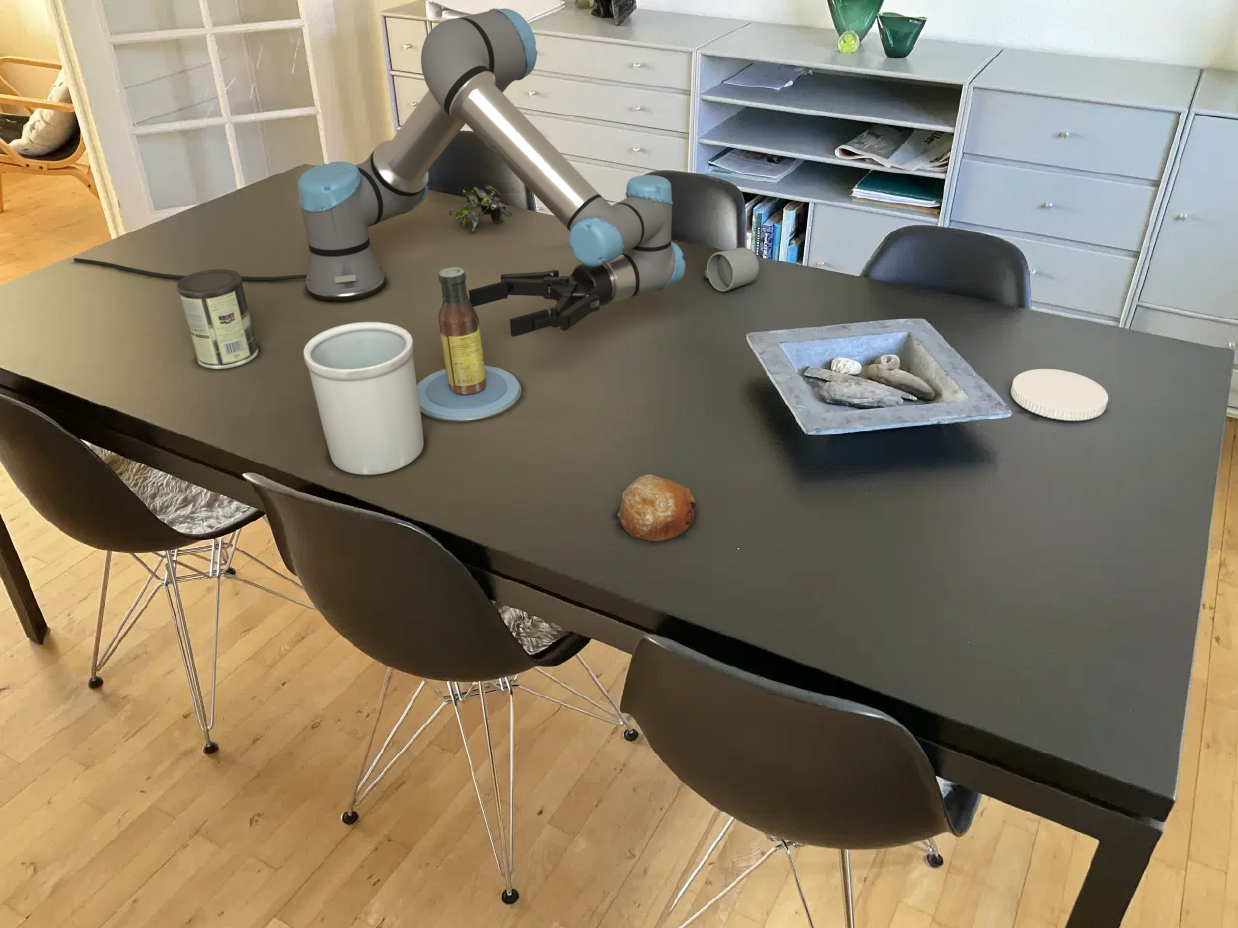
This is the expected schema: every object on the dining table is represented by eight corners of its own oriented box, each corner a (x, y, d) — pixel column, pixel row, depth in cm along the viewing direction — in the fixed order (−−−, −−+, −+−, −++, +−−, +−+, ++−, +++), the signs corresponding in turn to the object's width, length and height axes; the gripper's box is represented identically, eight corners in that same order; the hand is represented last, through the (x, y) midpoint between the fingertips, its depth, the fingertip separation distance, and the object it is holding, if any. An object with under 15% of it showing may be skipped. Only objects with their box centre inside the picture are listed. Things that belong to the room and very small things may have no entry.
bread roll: (629, 520, 137) (603, 478, 133) (696, 490, 136) (672, 447, 131) (636, 565, 129) (609, 522, 125) (707, 534, 127) (682, 489, 123)
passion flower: (496, 245, 231) (523, 207, 224) (468, 252, 222) (495, 213, 216) (465, 211, 232) (490, 172, 226) (436, 217, 223) (461, 176, 217)
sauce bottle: (494, 384, 161) (484, 269, 150) (470, 400, 156) (457, 283, 145) (463, 374, 164) (451, 260, 153) (438, 390, 159) (424, 274, 148)
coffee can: (226, 338, 179) (208, 265, 171) (271, 349, 175) (254, 274, 167) (183, 362, 171) (162, 286, 163) (229, 374, 167) (209, 296, 160)
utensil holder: (378, 489, 138) (359, 379, 128) (303, 459, 145) (280, 352, 135) (447, 441, 148) (434, 336, 139) (374, 416, 155) (357, 313, 145)
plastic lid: (1059, 435, 149) (1063, 420, 147) (990, 394, 159) (993, 381, 158) (1123, 412, 154) (1128, 398, 152) (1053, 375, 164) (1056, 361, 163)
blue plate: (390, 409, 157) (389, 402, 156) (449, 361, 170) (448, 355, 170) (487, 431, 151) (487, 424, 150) (540, 380, 164) (539, 373, 164)
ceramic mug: (761, 285, 196) (763, 248, 192) (732, 296, 192) (733, 259, 188) (723, 271, 203) (724, 235, 199) (694, 281, 199) (695, 244, 195)
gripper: (645, 328, 160) (531, 364, 150) (564, 279, 177) (457, 308, 167) (645, 285, 155) (528, 318, 145) (562, 239, 173) (452, 266, 163)
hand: (490, 313), depth 156 cm, fingers open, 13 cm apart
